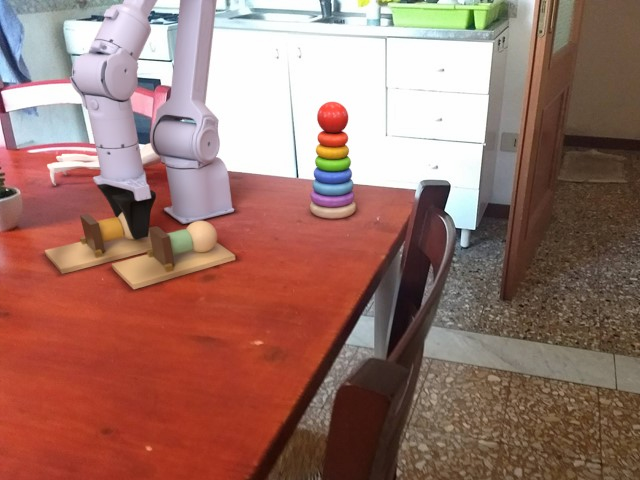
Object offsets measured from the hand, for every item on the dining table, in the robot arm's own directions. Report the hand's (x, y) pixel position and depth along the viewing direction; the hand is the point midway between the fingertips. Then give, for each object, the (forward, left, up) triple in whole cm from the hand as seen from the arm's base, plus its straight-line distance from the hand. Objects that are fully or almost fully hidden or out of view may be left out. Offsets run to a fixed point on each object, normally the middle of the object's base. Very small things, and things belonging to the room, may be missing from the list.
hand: (134, 232), depth 96 cm
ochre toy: (+2, 0, -1) cm, 2 cm away
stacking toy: (-32, +8, -2) cm, 33 cm away
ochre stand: (+4, 0, -2) cm, 5 cm away
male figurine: (-10, -31, -2) cm, 33 cm away
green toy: (-4, +10, -1) cm, 11 cm away
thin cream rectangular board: (-2, +11, -2) cm, 11 cm away
